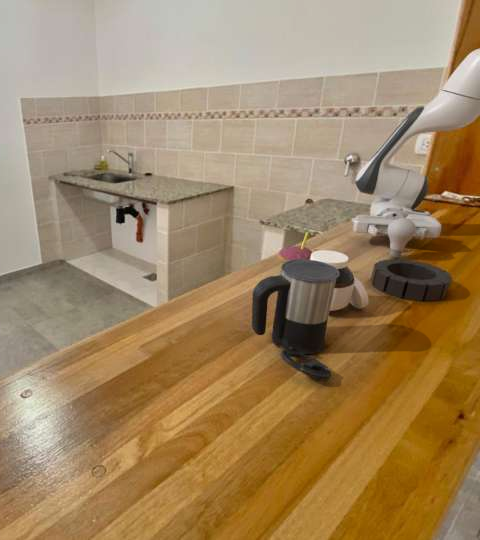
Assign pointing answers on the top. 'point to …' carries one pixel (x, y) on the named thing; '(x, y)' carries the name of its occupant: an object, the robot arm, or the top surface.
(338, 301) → the spread jar
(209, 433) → the top surface
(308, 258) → the cupcake
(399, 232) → the lightbulb
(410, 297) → the tire
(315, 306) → the milk frother
